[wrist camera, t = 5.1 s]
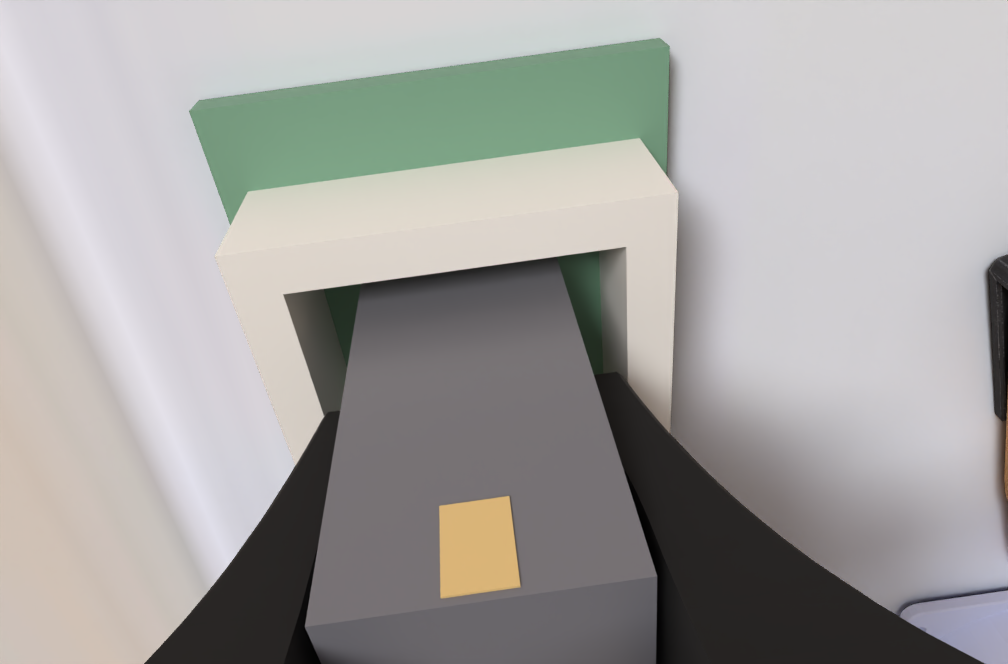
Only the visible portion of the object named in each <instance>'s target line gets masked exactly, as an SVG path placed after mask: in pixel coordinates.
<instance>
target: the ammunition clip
mask: <svg viewBox="0 0 1008 664" xmlns="http://www.w3.org/2000/svg"><path fill="white" fill-rule="evenodd" d="M989 276H990V298H991V320H992V342H993V364H994V388H995V413H996V415H997V416H998V417H999V418H1000V419H1001V420H1002V421H1006V420H1007V423H1006V449H1005V476H1004V481H1005V493H1006V497H1007V500H1008V255H1006V256H1003V257H1000V258H998V259H996V261H995V262H994V264H993V265H992V266H991V268H990V270H989ZM1006 413H1007V419H1006Z"/></svg>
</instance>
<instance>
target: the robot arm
mask: <svg viewBox="0 0 1008 664" xmlns="http://www.w3.org/2000/svg"><path fill="white" fill-rule="evenodd" d="M594 377H595V380H596V384H597V387H598V390H599V393H600V396H601V400H602V403H603V406H604V409H605V412H606V415H607V419H608V422H609V425H610V428H611V431H612V434H613V438H614V441H615V444H616V447H617V450H618V453H619V457H620V460H621V463H622V466H623V469H624V473H625V476H626V479H627V482H628V485H629V488H630V492H631V495H632V498H633V501H634V504H635V507H636V511H637V514H638V517H639V520H640V523H641V526H642V530H643V533H644V536H645V539H646V542H647V546H648V549H649V552H650V555H651V558H652V561H653V565H654V568H655V571H656V574H657V627H656V664H1008V590H1006V591H999V592H993V593H986V594H979V595H972V596H965V597H958V598H951V599H944V600H937V601H930V602H923V603H917V604H913V605H911V606H908V607H907V608H905V609H904V610H903V611H902V613H901V615H900V617H899V616H897V615H896V614H894V613H892V612H891V611H889V610H887V609H886V608H884V607H882V606H880V605H879V604H877V603H876V602H874V601H873V600H871V599H870V598H868V597H867V596H865V595H864V594H862V593H861V592H859V591H858V590H856V589H855V588H853V587H852V586H850V585H849V584H847V583H846V582H844V581H843V580H841V579H840V578H838V577H837V576H835V575H834V574H832V573H831V572H829V571H828V570H826V569H825V568H823V567H822V566H820V565H819V564H817V563H816V562H814V561H813V560H812V559H810V558H809V557H808V556H806V555H805V554H804V553H802V552H801V551H800V550H798V549H797V548H796V547H794V546H793V545H792V544H790V543H789V542H788V541H786V540H785V539H784V538H782V537H781V536H780V535H778V534H777V533H776V532H775V531H774V530H772V529H771V528H770V527H769V526H767V525H766V524H765V523H764V522H762V521H761V520H760V519H759V518H757V517H756V516H755V515H754V514H753V513H751V512H750V511H749V510H748V509H747V508H746V507H744V506H743V505H742V504H741V503H740V502H739V501H738V500H737V499H735V498H734V497H733V496H732V495H731V494H730V493H729V492H728V491H727V490H726V489H725V488H723V487H722V486H721V485H720V484H719V483H718V482H717V481H716V480H715V479H714V478H713V477H712V476H711V475H710V474H709V473H708V472H707V471H705V470H704V469H703V468H702V467H701V466H700V465H699V464H698V463H697V462H696V461H695V460H694V458H693V457H692V456H691V455H690V454H689V453H688V452H687V451H686V450H685V449H684V448H683V447H682V446H681V445H680V444H679V443H678V442H677V441H676V440H675V439H674V437H673V436H672V435H671V434H670V433H669V432H668V431H667V430H666V429H665V428H664V426H663V425H662V424H661V423H660V422H659V421H658V419H657V418H656V417H655V416H654V415H653V414H652V412H651V411H650V410H649V409H648V408H647V406H646V405H645V404H644V403H643V402H642V400H641V399H640V398H639V397H638V395H637V394H636V393H635V391H634V390H633V389H632V387H631V386H630V385H629V383H628V382H627V381H626V379H625V378H624V376H622V375H621V374H619V373H618V372H610V373H603V374H596V375H594ZM339 416H340V410H339V411H332V412H328V413H327V414H326V415H325V416H324V418H323V419H322V421H321V422H320V424H319V426H318V428H317V430H316V431H315V433H314V435H313V437H312V438H311V440H310V442H309V444H308V445H307V447H306V449H305V451H304V452H303V454H302V456H301V457H300V459H299V461H298V462H297V464H296V466H295V468H294V469H293V471H292V473H291V474H290V476H289V477H288V479H287V481H286V482H285V484H284V485H283V487H282V488H281V490H280V492H279V493H278V495H277V496H276V498H275V499H274V501H273V503H272V504H271V506H270V507H269V509H268V510H267V512H266V513H265V515H264V516H263V518H262V519H261V521H260V522H259V524H258V525H257V527H256V528H255V529H254V531H253V532H252V534H251V535H250V536H249V538H248V539H247V541H246V542H245V543H244V545H243V546H242V548H241V549H240V550H239V552H238V553H237V555H236V556H235V557H234V559H233V560H232V562H231V563H230V564H229V566H228V567H227V568H226V570H225V571H224V572H223V573H222V575H221V576H220V577H219V579H218V580H217V581H216V582H215V584H214V585H213V586H212V587H211V589H210V590H209V591H208V592H207V594H206V595H205V596H204V597H203V598H202V600H201V601H200V602H199V603H198V604H197V606H196V607H195V608H194V609H193V610H192V612H191V613H190V614H189V615H188V616H187V618H186V619H185V620H184V621H183V622H182V623H181V624H180V625H179V627H178V628H177V629H176V630H175V631H174V632H173V633H172V634H171V635H170V636H169V638H168V639H167V640H166V641H165V642H164V643H163V644H162V645H161V646H160V647H159V649H158V650H157V651H156V652H155V653H154V654H153V655H152V656H151V657H150V658H149V659H148V660H147V661H146V662H145V663H144V664H321V662H320V660H319V658H318V655H317V653H316V651H315V649H314V646H313V644H312V642H311V640H310V638H309V635H308V633H307V631H306V629H305V623H306V617H307V611H308V604H309V598H310V592H311V586H312V580H313V574H314V568H315V562H316V556H317V550H318V544H319V537H320V531H321V525H322V519H323V513H324V507H325V501H326V495H327V489H328V483H329V477H330V470H331V464H332V458H333V452H334V446H335V440H336V434H337V428H338V422H339Z"/></svg>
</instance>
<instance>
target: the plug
mask: <svg viewBox="0 0 1008 664" xmlns="http://www.w3.org/2000/svg"><path fill="white" fill-rule="evenodd" d="M656 627H657V574H656V571H655V568H654V565H653V561H652V558H651V555H650V552H649V549H648V546H647V542H646V539H645V536H644V533H643V530H642V526H641V523H640V520H639V517H638V514H637V511H636V507H635V504H634V501H633V498H632V495H631V492H630V488H629V485H628V482H627V479H626V476H625V473H624V469H623V466H622V463H621V460H620V457H619V453H618V450H617V447H616V444H615V441H614V438H613V434H612V431H611V428H610V425H609V422H608V419H607V415H606V412H605V409H604V406H603V403H602V400H601V396H600V393H599V390H598V387H597V384H596V380H595V377H594V374H593V371H592V368H591V365H590V361H589V358H588V355H587V352H586V349H585V346H584V342H583V339H582V336H581V333H580V330H579V326H578V323H577V320H576V317H575V314H574V311H573V307H572V304H571V301H570V298H569V295H568V292H567V288H566V285H565V282H564V279H563V276H562V273H561V269H560V266H559V263H558V260H557V257H550V258H543V259H536V260H528V261H521V262H514V263H507V264H499V265H492V266H485V267H478V268H470V269H463V270H456V271H449V272H442V273H434V274H427V275H420V276H413V277H405V278H398V279H391V280H384V281H376V282H369V283H362V284H361V288H360V294H359V300H358V306H357V312H356V318H355V324H354V330H353V336H352V343H351V349H350V355H349V361H348V367H347V373H346V379H345V385H344V391H343V397H342V403H341V410H340V416H339V422H338V428H337V434H336V440H335V446H334V452H333V458H332V464H331V470H330V477H329V483H328V489H327V495H326V501H325V507H324V513H323V519H322V525H321V531H320V537H319V544H318V550H317V556H316V562H315V568H314V574H313V580H312V586H311V592H310V598H309V604H308V611H307V617H306V623H305V629H306V631H307V633H308V635H309V638H310V640H311V642H312V644H313V646H314V649H315V651H316V653H317V655H318V658H319V660H320V662H321V664H656Z"/></svg>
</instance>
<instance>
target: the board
mask: <svg viewBox="0 0 1008 664" xmlns="http://www.w3.org/2000/svg"><path fill="white" fill-rule="evenodd" d="M669 49H670V46H669V45H667V44H666V43H665V42H664V41H663V40H662V39H660V38H657V39H649V40H642V41H635V42H627V43H620V44H612V45H605V46H598V47H590V48H583V49H576V50H568V51H561V52H553V53H546V54H539V55H531V56H524V57H516V58H509V59H502V60H494V61H487V62H479V63H472V64H465V65H457V66H450V67H442V68H435V69H428V70H420V71H413V72H405V73H398V74H391V75H383V76H376V77H368V78H361V79H354V80H346V81H339V82H332V83H324V84H317V85H309V86H302V87H295V88H287V89H280V90H272V91H265V92H258V93H250V94H243V95H235V96H228V97H221V98H213V99H206V100H199V101H198V102H197V103H196V104H195V105H194V106H193V108H192V109H191V110H190V111H189V112H190V115H191V118H192V120H193V123H194V126H195V129H196V131H197V134H198V137H199V140H200V142H201V145H202V148H203V151H204V153H205V156H206V159H207V162H208V165H209V167H210V170H211V173H212V176H213V178H214V181H215V184H216V187H217V189H218V192H219V195H220V198H221V200H222V203H223V206H224V209H225V211H226V214H227V217H228V220H229V223H230V227H229V229H228V231H227V233H226V235H225V237H224V239H223V241H222V243H221V245H220V247H219V249H218V251H217V253H216V255H215V259H216V262H217V264H218V267H219V269H220V272H221V274H222V277H223V280H224V282H225V285H226V287H227V290H228V293H229V295H230V298H231V300H232V303H233V305H234V308H235V311H236V313H237V316H238V318H239V321H240V324H241V326H242V329H243V331H244V334H245V336H246V339H247V342H248V344H249V347H250V349H251V352H252V355H253V357H254V360H255V362H256V365H257V368H258V370H259V373H260V375H261V378H262V380H263V383H264V386H265V388H266V391H267V393H268V396H269V399H270V401H271V404H272V406H273V409H274V411H275V414H276V417H277V419H278V422H279V424H280V427H281V430H282V432H283V435H284V437H285V440H286V442H287V445H288V448H289V450H290V453H291V455H292V458H293V461H294V463H295V466H296V464H297V462H298V461H299V459H300V457H301V456H302V454H303V452H304V451H305V449H306V447H307V445H308V444H309V442H310V440H311V438H312V437H313V435H314V433H315V431H316V430H317V428H318V426H319V424H320V422H321V421H322V419H323V418H324V416H325V415H326V414H327V413H328V412H332V411H339V410H341V403H342V397H343V391H344V385H345V379H346V373H347V367H348V361H349V355H350V349H351V343H352V336H353V330H354V324H355V318H356V312H357V306H358V300H359V294H360V288H361V284H362V283H369V282H376V281H384V280H391V279H398V278H405V277H413V276H420V275H427V274H434V273H442V272H449V271H456V270H463V269H470V268H478V267H485V266H492V265H499V264H507V263H514V262H521V261H528V260H536V259H543V258H550V257H557V260H558V263H559V266H560V269H561V273H562V276H563V279H564V282H565V285H566V288H567V292H568V295H569V298H570V301H571V304H572V307H573V311H574V314H575V317H576V320H577V323H578V326H579V330H580V333H581V336H582V339H583V342H584V346H585V349H586V352H587V355H588V358H589V361H590V365H591V368H592V371H593V374H594V375H596V374H603V373H610V372H618V373H619V374H621V375H622V376H624V378H625V379H626V381H627V382H628V383H629V385H630V386H631V387H632V389H633V390H634V391H635V393H636V394H637V395H638V397H639V398H640V399H641V400H642V402H643V403H644V404H645V405H646V406H647V408H648V409H649V410H650V411H651V412H652V414H653V415H654V416H655V417H656V418H657V419H658V421H659V422H660V423H661V424H662V425H663V426H664V428H665V429H666V430H667V431H668V432H669V433H670V426H671V397H672V368H673V339H674V310H675V281H676V252H677V223H678V194H679V193H678V191H677V190H676V188H675V187H674V186H673V184H672V183H671V181H670V180H669V179H668V177H667V176H666V175H667V133H668V91H669Z"/></svg>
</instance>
